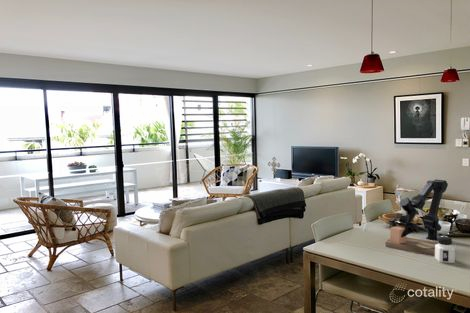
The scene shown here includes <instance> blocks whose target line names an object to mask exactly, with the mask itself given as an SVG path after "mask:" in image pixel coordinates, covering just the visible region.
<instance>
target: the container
mask: <svg viewBox="0 0 470 313" xmlns="http://www.w3.org/2000/svg"><path fill="white" fill-rule="evenodd" d="M437 237H438V240H437V242H438V244H435V256H434V258H435V259H436V261H438V263H447V264H448V263H451V264H455V262H456V261H455V260H456V249H455V248H454V247H453V245H452V244H453V239H452V238H451V237H449V236H448V235H447V236H446V235H442V236H437Z"/></svg>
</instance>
